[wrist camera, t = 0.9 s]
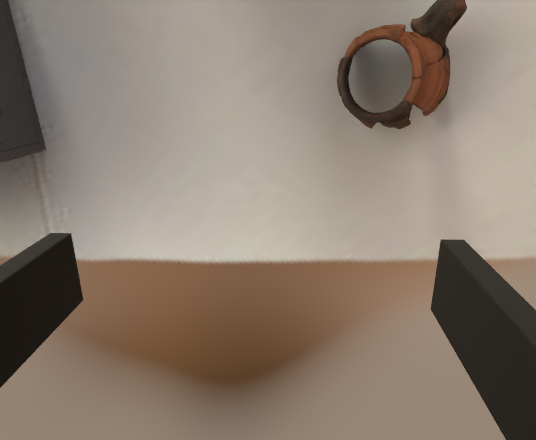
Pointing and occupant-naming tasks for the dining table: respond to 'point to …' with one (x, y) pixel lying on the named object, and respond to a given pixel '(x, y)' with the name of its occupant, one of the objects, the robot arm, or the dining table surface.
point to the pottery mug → (422, 59)
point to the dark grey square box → (15, 96)
